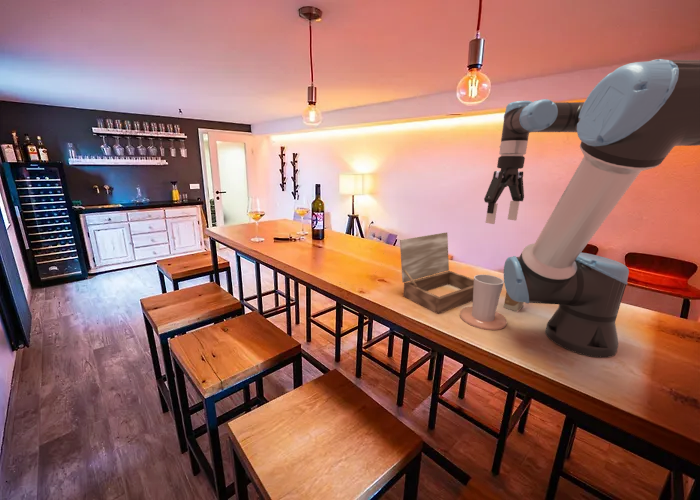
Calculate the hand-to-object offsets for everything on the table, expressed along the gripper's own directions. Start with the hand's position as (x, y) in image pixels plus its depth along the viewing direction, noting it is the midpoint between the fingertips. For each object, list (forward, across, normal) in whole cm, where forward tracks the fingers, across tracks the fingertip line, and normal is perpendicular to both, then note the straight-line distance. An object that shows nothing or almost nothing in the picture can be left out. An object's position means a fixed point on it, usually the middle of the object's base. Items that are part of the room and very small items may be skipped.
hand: (501, 221), depth 99 cm
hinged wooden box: (+27, +16, -10) cm, 33 cm away
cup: (+26, +19, +9) cm, 34 cm away
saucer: (+27, +19, +9) cm, 34 cm away
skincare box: (+27, +3, +10) cm, 29 cm away
